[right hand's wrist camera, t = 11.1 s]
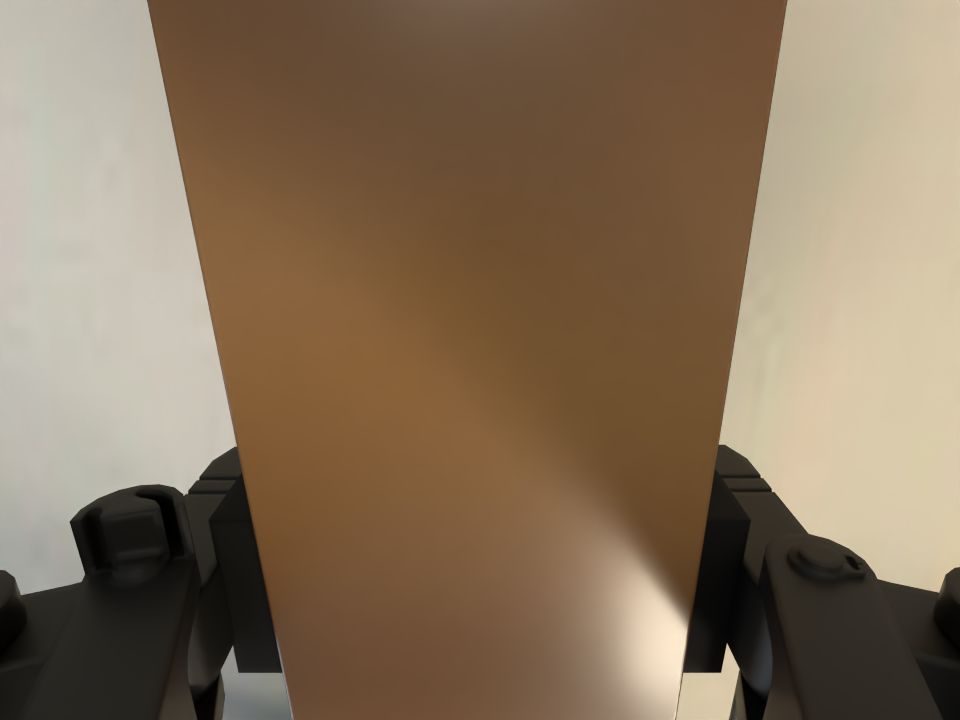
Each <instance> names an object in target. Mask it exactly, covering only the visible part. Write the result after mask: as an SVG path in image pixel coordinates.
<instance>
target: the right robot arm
mask: <svg viewBox="0 0 960 720" xmlns="http://www.w3.org/2000/svg"><path fill="white" fill-rule="evenodd" d="M199 478H200V479H199V480H197V481H196V482H195V483H194V485H193V486H192V487H191V488H190V489H189V491H188V494H185V496H183V494H182V493H181V492H180V491H178V490H177V489H176V488H174V487H169V486H165V485H160V484H158V485H140V486H135V487H131V488H126V489H122V490H118V491H116V492H113V493H111V494H108V495H106V496H103V497H101V498H98V499H97V500H95V501H93V502H92V503H90V504H89V505H87V506H86V507H84V508H82V509H81V510H80V511H79V512H78V513H77V514H76V515H75V516H74V518H73V519H72V520H71V521H70V525H71V528H72V531H73V535H74V538H75V541H76V545H77V548H78V551H79V555H80V558H81V561H82V565H83V568H84V571H85V576H84V578H83V581H82V582H80V583H76V584H73V585H68V586H64V587H59V588H54V589H49V590H45V591H40V592H35V593H30V594H26V595H21V594H20V591H19V589H18V586H17V583H16V580H15V578H14V577H13V576H12V575H10V574H9V573H8V572H6V571H4V570H0V720H222V717H223V709H224V700H225V692H224V685H223V680H222V675H221V668H222V666H223V664H224V662H225V660H226V658H227V656H228V654H229V652H230V650H231V648H232V646H233V647H234V652H235V657H236V662H237V667H238V672H239V673H283V672H282V667H281V662H280V657H279V652H278V647H277V642H276V637H275V632H274V627H273V622H272V618H271V613H270V608H269V603H268V598H267V593H266V588H265V583H264V578H263V573H262V568H261V563H260V558H259V553H258V548H257V543H256V538H255V533H254V528H253V523H252V518H251V513H250V508H249V503H248V498H247V493H246V489H245V484H244V479H243V474H242V469H241V464H240V459H239V454H238V449H237V447H234V448H232V449H231V450H229V451H227V452H226V453H224V454H223V455H221V456H220V457H218V458H216V459H215V460H213V461H212V462H211V464H210V465H209V466H208V467H207V469H206V470H205V471H204V472H203V473H202V475H201V476H200V477H199ZM727 644H728V646H729V648H730V650H731V652H732V654H733V656H734V658H735V660H736V662H737V664H738V666H739V668H740V670H739V675H738V680H737V684H736V689H735V694H734V698H733V703H732V708H731V713H730V717H729V720H960V567H958V568H954V569H953V570H951V571H950V572H949V573H947V574H946V575H945V578H944V581H943V584H942V587H941V590H940V592H939V593H938V592H933V591H928V590H923V589H919V588H914V587H909V586H904V585H899V584H895V583H890V582H886V581H882V580H879V579H877V577H876V575H875V573H874V572H873V571H872V569H871V568H870V567H869V565H868V564H867V563H866V562H865V560H863V559H862V558H861V557H859V556H858V555H857V554H855V553H854V552H853V551H851V550H850V549H848V548H846V547H844V546H842V545H840V544H838V543H836V542H833V541H831V540H829V539H826V538H822V537H818V536H814V535H810V534H808V533H807V531H806V530H805V529H804V528H803V526H802V525H801V524H800V523H799V522H798V520H797V519H796V518H795V517H794V515H793V514H792V513H791V512H790V511H789V509H788V508H787V507H786V506H785V504H784V503H783V502H782V501H781V500H780V498H779V497H778V496H777V495H776V493H775V492H772V489H771V487H770V486H769V485H768V484H767V482H766V481H765V480H764V479H763V478H761V477H760V474H759V473H758V471H757V470H756V469H755V468H754V467H753V465H752V464H751V463H750V462H749V460H748V459H747V458H745V457H743V456H742V455H740V454H739V453H737V452H736V451H734V450H732V449H731V448H729V447H728V446H726V445H718V451H717V457H716V464H715V470H714V477H713V483H712V490H711V496H710V503H709V509H708V515H707V522H706V528H705V535H704V541H703V548H702V554H701V561H700V567H699V574H698V580H697V586H696V593H695V599H694V606H693V612H692V619H691V625H690V632H689V638H688V645H687V651H686V657H685V664H684V670H683V673H721V670H722V665H723V660H724V655H725V650H726V645H727Z"/></svg>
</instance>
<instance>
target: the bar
mask: <svg viewBox="0 0 960 720" xmlns="http://www.w3.org/2000/svg"><path fill="white" fill-rule="evenodd" d="M147 2H148V7H149V12H150V17H151V22H152V27H153V32H154V37H155V42H156V47H157V52H158V57H159V62H160V67H161V72H162V77H163V82H164V87H165V91H166V96H167V101H168V106H169V111H170V116H171V121H172V126H173V131H174V136H175V141H176V146H177V151H178V156H179V161H180V166H181V171H182V176H183V181H184V186H185V191H186V196H187V201H188V206H189V211H190V216H191V221H192V225H193V230H194V235H195V240H196V245H197V250H198V255H199V260H200V265H201V270H202V275H203V280H204V285H205V290H206V295H207V300H208V305H209V310H210V315H211V320H212V325H213V330H214V335H215V340H216V345H217V350H218V355H219V359H220V364H221V369H222V374H223V379H224V384H225V389H226V394H227V399H228V404H229V409H230V414H231V419H232V424H233V429H234V434H235V439H236V444H237V449H238V454H239V459H240V464H241V469H242V474H243V479H244V484H245V489H246V493H247V498H248V503H249V508H250V513H251V518H252V523H253V528H254V533H255V538H256V543H257V548H258V553H259V558H260V563H261V568H262V573H263V578H264V583H265V588H266V593H267V598H268V603H269V608H270V613H271V618H272V622H273V627H274V632H275V637H276V642H277V647H278V652H279V657H280V662H281V667H282V672H283V677H284V682H285V687H286V692H287V697H288V702H289V707H290V712H291V717H292V720H676V716H677V709H678V703H679V696H680V690H681V683H682V677H683V670H684V664H685V657H686V651H687V645H688V638H689V632H690V625H691V619H692V612H693V606H694V599H695V593H696V586H697V580H698V574H699V567H700V561H701V554H702V548H703V541H704V535H705V528H706V522H707V515H708V509H709V503H710V496H711V490H712V483H713V477H714V470H715V464H716V457H717V451H718V444H719V438H720V432H721V425H722V419H723V412H724V406H725V399H726V393H727V386H728V380H729V373H730V367H731V361H732V354H733V348H734V341H735V335H736V328H737V322H738V315H739V309H740V302H741V296H742V290H743V283H744V277H745V270H746V264H747V257H748V251H749V244H750V238H751V231H752V225H753V219H754V212H755V206H756V199H757V193H758V186H759V180H760V173H761V167H762V160H763V154H764V148H765V141H766V135H767V128H768V122H769V115H770V109H771V102H772V96H773V89H774V83H775V77H776V70H777V64H778V57H779V51H780V44H781V38H782V31H783V25H784V18H785V12H786V6H787V0H147Z"/></svg>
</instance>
